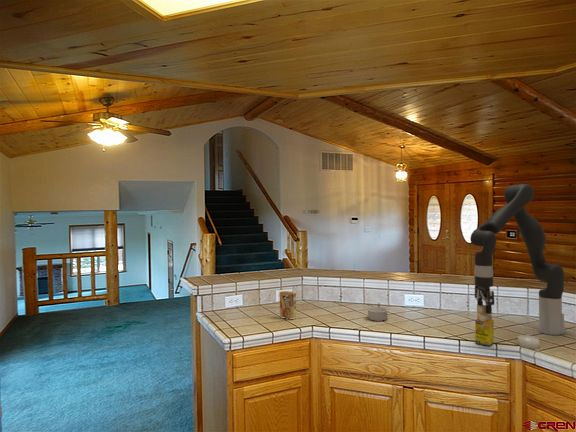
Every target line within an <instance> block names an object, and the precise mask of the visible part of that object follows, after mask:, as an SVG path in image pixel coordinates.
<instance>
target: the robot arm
mask: <svg viewBox="0 0 576 432" xmlns="http://www.w3.org/2000/svg"><path fill="white" fill-rule="evenodd" d="M503 195H504V196H503V197H504V199H505V202H506V204H505V205H504V206H501V207H500V208H499V209H497V210H496V211H494V213H492V215H490V217H489V218H488V219H487V221H485V222H484V223H483V224H481V225H480V226H479V227H477V228H475V230H473V231H472V233H470V243H471V244H472V245H473V246H475V247H482V250H481V251H477V252H475V253H474V272H473V273H474V277H473V278H474V298H475V299H476V302H477V305H486V313H487V314H491V313H492V312H493V311H492V310H493V309H492V308H493V307H492V306H495V292H494V290H491V289H490V288H492V287H493V286H494V269H493V255H494V252H495V249H496V245H497V237H496V234H499V233H500V232H501V231H502V230H503V229H504V227H505V226H506V225H507V223H508V222H509V221H510V220H511V219H512V218H514V219H515V222H516V224H517V227H518V229H519V232H520V235H521V237H522V241H523V242H524V245H525V247H526V250H527V253H528V256H529V259H530V263H531V266H532V270H533V274H534V276H535V278H536V280H538V281H540V282H543V283H546V287H545V288H543V289H539V290H538V330H539V332H540V333H542V334H544V335H545V334H546V335H551V336H561V335H565V314H564V313H563V297H562V296H563V293H564V291H565V290H564V287H565V273H564V272H565V271H564V269H563V267H562V266H561V265H558V264H553V263H548V262H547V260H546V258H545V255H544V249H545V246H546V241H547V237H546V235H545V231H544V229H543V227H542V224H541V223H540V222H539V221H538V220H537V219H536V218H535V217H533V216H532V215H531V214H530V213H529V211H527V209H526V208H525V207H526V206H527V205H528V204H530V203H531V201H532V200H533V199H534V196H535V190H534V188H533V186H532V185H531V184H527V183H522V184H520V183H519V184H515V185H513V184H512V185H509V186H507V187H506V188H504V192H503ZM484 303H485V304H484ZM477 305H476V306H477ZM492 314H493V313H492Z"/></svg>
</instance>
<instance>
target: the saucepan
mask: <svg viewBox="0 0 576 432" xmlns="http://www.w3.org/2000/svg"><path fill="white" fill-rule="evenodd" d="M366 310H367V318H368V319H369V320H370V319H371V320H370V321H373V320H375V321H374V322H384V321H386V320H388V311H389V309H388V308H387V307H383V306H381V302H378V303H377V306H369V307H367V308H366ZM383 320H384V321H383Z"/></svg>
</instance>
